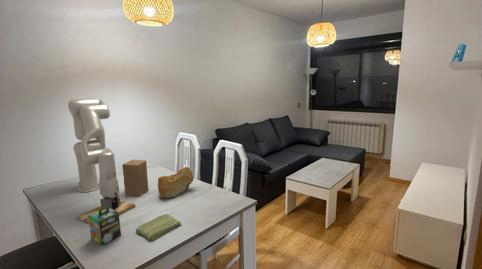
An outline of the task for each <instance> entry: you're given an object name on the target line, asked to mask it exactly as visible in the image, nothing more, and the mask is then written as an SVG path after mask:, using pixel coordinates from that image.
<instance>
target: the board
mask: <svg viewBox="0 0 482 269" xmlns="http://www.w3.org/2000/svg"><path fill="white" fill-rule="evenodd" d="M120 201H121V206H119V207H117V208H115V209H113V210H115V211H117V212H119V216H120V215H122V214H124V213H126V212H128V211H130V210H132V209H134V208H136V204H135V203H132V202H129V201H125V200H122V199H120ZM99 209H101V204H100V205H99V206H96V207H94V208H92V209H89V210H88V211H86V212H85V211H84V212H83V213H80V214H79V215H76V216H77V217H76V218H77V220H79V221H82V222H85V223H87V224H89V220H88V216H89V215H91V214H93V213H95V212H98V211H99Z"/></svg>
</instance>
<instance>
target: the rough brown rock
mask: <svg viewBox="0 0 482 269" xmlns="http://www.w3.org/2000/svg"><path fill="white" fill-rule="evenodd" d="M193 182H194V175H193V171H192V170H191V168H189V166H185V167H182V168H181V169H180V170H179V171H178V172H177V173H175V174H171V175H168V176H167V175H161V176H159V177H157V190H158V193H159V197H160V198H164V199H165V198H166V199H169V198H174V197H176V196H178V195H180V194H182V193H183V192H186V191H187V190H188V189H189V187H190V185H191V184H192V183H193Z"/></svg>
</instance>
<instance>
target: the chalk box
mask: <svg viewBox="0 0 482 269" xmlns="http://www.w3.org/2000/svg"><path fill="white" fill-rule="evenodd" d="M88 220H89V223H88V225H89V232H90V238H91V240H93V241H94V242H96V243H97V244H98V245H101V246H103V245H106V244H108V243H110V242H111V241H113V240H115V239H117V238H118V237H121V236H122V231H121V230H122V229H121V221H120V215H119V212H117V211H115V210H112V209H110V208H109V206H106V207H104V208H101V209H99V211H98V212H95V213H93V214H91V215H89V216H88Z"/></svg>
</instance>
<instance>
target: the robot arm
mask: <svg viewBox="0 0 482 269" xmlns="http://www.w3.org/2000/svg"><path fill="white" fill-rule="evenodd" d="M67 107H68V111H69V113H70V115H71V116H72V119H73V129H74V135H75V138H76V139H77V140H79V141H78V142H76V143H75V144H74V145H73V152H74V155H75V158H76V165H77V171H78V172H77V173H78V179H79V182H78V185H79V187H78V188H77V191H78V192H79V193H89V192H94V191H97V190H99V191H98V192H99V194H100V196H102V199H103V198H105V197H109V198H112V201H113V202H112V209H115V208H117V207H118V199H119V198H120V199H121V197H122V195H121V194H120V186H119V181H118V177H117V170H116V158H115V153H114V152H113V150H112V149H111V148H109V147H106V135H105V128H104V125H102V121H101V120H107V119H109V118H110V116H111V111H110V109H109V106H108V105H107V104H106V102H104V100H102V99H101V98H98V97H97V98H94V97H93V98H72V99H70V100H69V101H68V102H67ZM96 165H98V170H99V180H98V176H97V170H96ZM114 197H115V199H114Z"/></svg>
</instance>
